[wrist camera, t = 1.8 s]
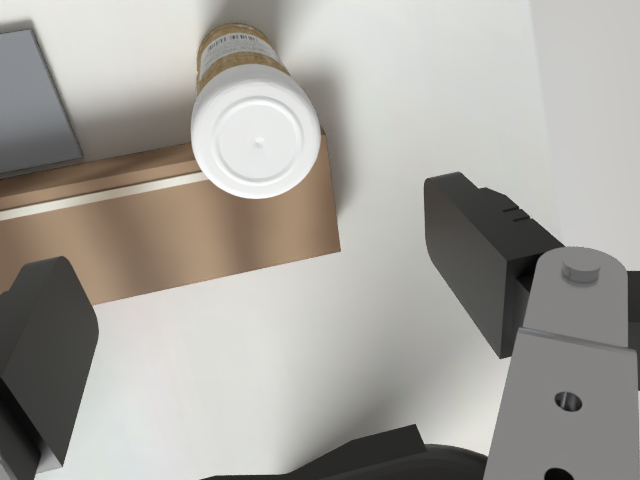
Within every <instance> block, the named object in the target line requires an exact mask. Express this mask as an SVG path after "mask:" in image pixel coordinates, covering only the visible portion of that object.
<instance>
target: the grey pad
mask: <svg viewBox="0 0 640 480" xmlns="http://www.w3.org/2000/svg"><path fill="white" fill-rule="evenodd" d="M81 157H82V152H81V150H80V147H79V145H78V142H77V140H76V138H75V135H74V133H73V130H72V128H71V125H70V123H69V120H68V118H67V115H66V113H65V110H64V108H63V105H62V103H61V101H60V98H59V96H58V93H57V91H56V88H55V86H54V83H53V81H52V78H51V76H50V73H49V71H48V68H47V66H46V63H45V61H44V59H43V56H42V54H41V51H40V49H39V46H38V44H37V41H36V39H35V36H34V34H33V31H32V29H26V30H20V31H14V32H8V33H2V34H0V173H3V172H8V171H13V170H19V169H24V168H29V167H35V166H40V165H45V164H50V163H56V162H61V161H66V160H72V159H77V158H81Z"/></svg>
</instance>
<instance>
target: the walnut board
mask: <svg viewBox="0 0 640 480" xmlns="http://www.w3.org/2000/svg"><path fill="white" fill-rule="evenodd" d="M320 131H321V142H320V149H319V152H318V156H317V159H316V161H315V163H314V165H313V167H312V168H311V170H310V171H309V173H308V174H307V175H306V177H305V178H304V179H303V180H302V181H301V182H299V183H298V184H297V185H296V186H294V187H293V188H291V189H290V190H288V191H286V192H284V193H282V194H279V195H277V196H273V197H269V198H261V199H251V198H243V197H239V196H235V195H233V194H230V193H228V192H226V191H224V190H222V189H221V188H219V187H217V186H216V185H215V184H214V183H213V182H212V181H211V180H209V179H208V177H207V176H206V175H205V174H204V173H203V171H202V170H201V168H200V167H199V165H198V163H197V161H196V159H195V156H194V153H193V149H192V143H188V144H182V145H177V146H172V147H167V148H161V149H156V150H151V151H146V152H140V153H135V154H130V155H125V156H119V157H114V158H109V159H104V160H98V161H93V162H88V163H83V164H77V165H72V166H67V167H62V168H56V169H51V170H46V171H41V172H35V173H30V174H25V175H20V176H15V177H9V178H4V179H0V295H1V294H2V293H3V292H5V291H9V289H10V287H11V286H12V284H13V282H14V280H15V279H16V277H17V275H18V273H19V272H20V270H21V268H22V267H23V265H25V264H27V263H31V262H36V261H40V260H45V259H50V258H54V257H59V256H64V257H66V258H67V259H68V260H69V262H70V263H71V265H72V267H73V269H74V271H75V273H76V275H77V277H78V279H79V281H80V283H81V285H82V287H83V289H84V291H85V293H86V295H87V297H88V299H89V301H90V303H91V305H96V304H101V303H105V302H110V301H115V300H119V299H124V298H128V297H133V296H138V295H142V294H147V293H151V292H156V291H161V290H165V289H170V288H175V287H179V286H184V285H188V284H193V283H198V282H202V281H207V280H211V279H216V278H221V277H225V276H230V275H234V274H239V273H244V272H248V271H253V270H257V269H262V268H267V267H271V266H276V265H280V264H285V263H290V262H294V261H299V260H303V259H308V258H313V257H317V256H322V255H327V254H331V253H336V252H340V251H341V248H340V240H339V233H338V225H337V217H336V210H335V202H334V194H333V187H332V179H331V171H330V163H329V156H328V148H327V140H326V134H325V133H324V131H323V129H322V128H321V126H320Z"/></svg>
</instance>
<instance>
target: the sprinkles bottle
mask: <svg viewBox="0 0 640 480" xmlns="http://www.w3.org/2000/svg"><path fill="white" fill-rule="evenodd" d="M197 71H198V74H197V79H196V95H197V99H196V102H195V104H194V107H193V111H192V117H191V142H192V149H193V153H194V156H195V159H196V161H197V163H198V165H199V167H200V168H201V170H202V171H203V173H204V174H205V175H206V176H207V177H208V179H209V180H211V181H212V182H213V183H214V184H215V185H216V186H217V187H219V188H221V189H222V190H224V191H226V192H228V193H230V194H233V195H235V196H239V197H243V198H251V199H261V198H269V197H273V196H277V195H279V194H282V193H284V192H286V191H288V190H290V189H291V188H293V187H294V186H296V185H297V184H298V183H299V182H301V181H302V180H303V179H304V178H305V177H306V175H307V174H308V173H309V171H310V170H311V168H312V167H313V165H314V163H315V161H316V159H317V156H318V152H319V149H320V142H321V131H320V124H319V120H318V116H317V114H316V111H315V109H314V107H313V105H312V103H311V102H310V100H309V98H308V96H307V95H306V93H305V92H304V91H303V89H302V88H301V87H300V86H299V84H298V83H297V82H296V81H295V80H294V79H292V78H291V76H290V74H289V73H288V71H287V69H286V68H285V66H284V65H283V63H282V62H281V60H280V59H279V57H278V56H277V54H276V52H275V51H274V48H273V46H272V44H271V43H270V42H269V41H268V39H267V38H266V37H265V36H264V35H263V34H262V33H261V32H260V31H258V30H257V29H255V28H253V27H251V26H248V25H245V24H238V23H235V24H226V25H222V26H220V27H218V28H216V29H215V30H213V31H212V32H210V34H209V35H208V36H207V37H206V38H205V39H204V40H203V42H202V44H201V46H200V48H199V51H198V55H197Z"/></svg>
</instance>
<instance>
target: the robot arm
mask: <svg viewBox="0 0 640 480" xmlns="http://www.w3.org/2000/svg"><path fill="white" fill-rule="evenodd" d="M424 211H425V239H426V245H427V250H428V253H429V256H430V258H431V260H432V262H433V264H434V265H435V267H436V268H437V270H438V271H439V273H440V274H441V275H442V277H443V278H444V280H445V281H446V283H447V284H448V285H449V287H450V288H451V290H452V291H453V293H454V294H455V296H456V297H457V298H458V300H459V301H460V303H461V304H462V306H463V307H464V308H465V310H466V311H467V313H468V314H469V316H470V317H471V318H472V320H473V321H474V323H475V324H476V326H477V327H478V329H479V330H480V331H481V333H482V334H483V336H484V337H485V339H486V340H487V341H488V343H489V344H490V346H491V347H492V349H493V350H494V352H495V353H496V354H497V356H498V357H499V359H503V358H507V357H511V356H512V358H511V362H510V366H509V370H508V375H507V379H506V383H505V388H504V392H503V396H502V400H501V405H500V409H499V413H498V417H497V422H496V426H495V430H494V435H493V439H492V443H491V447H490V452H489V456H485V455H483V454H480V453H477V452H474V451H471V450H468V449H463V448H459V447H454V446H448V445H438V444H424V443H423V440H422V438H421V436H420V433H419V431H418V429H417V426H416V424H413V425H409V426H406V427H402V428H398V429H394V430H390V431H386V432H382V433H379V434H375V435H371V436H367V437H363V438H359V439H355V440H352V441H350V442H348V443H346V444H344V445H342V446H340V447H338V448H337V449H335V450H333V451H331V452H329V453H327V454H325V455H323V456H321V457H319V458H318V459H316V460H314V461H312V462H310V463H308V464H306V465H304V466H302V467H300V468H299V469H297V470H295V471H293V472H290V473H287V474H281V475H224V476H212V477H209V478H205V479H201V480H640V454H639V453H640V450H639V414H638V413H639V412H638V391H640V271H626V269H625V267H624V266H623V265H622V264H621V263H620V262H619V261H618V260H617V259H615V258H614V257H612V256H610V255H608V254H606V253H603V252H601V251H598V250H594V249H590V248H584V247H565V246H564V245H563V244H562V243H561V242H559V241H558V240H557V239H556V238H555V237H554V236H552V235H551V234H550V233H549V232H548V231H547V230H545V229H544V228H543V227H542V226H541V225H540V224H538V223H537V222H536V221H535V220H534V219H533V218H532V219H530V216H529V215H528V214H527V213H526V212H524V211H523V210H522V209H519V206H517V205H516V204H515V203H514V202H513V201H512V200H510V199H509V198H508V197H507V196H506V195H503V194H501V193H498V192H496V191H493V190H491V189H488V188H486V187H485V188H481V189H478V188H477V187H476V186H475V185H474V184H473V183H472V182H470V181H469V180H468V179H467V178H466V177H465V176H464V175H463V174H462V173H460V172H454V173H450V174H445V175H440V176H436V177H431V178H427V179H426V180H425V183H424ZM98 335H99V329H98V321H97V317H96V314H95V312H94V309H93V307H92V305H91V303H90V301H89V299H88V297H87V295H86V293H85V291H84V289H83V287H82V285H81V283H80V281H79V279H78V277H77V275H76V273H75V271H74V269H73V267H72V265H71V263H70V262H69V260H68V259H67V258H66V257H64V256H59V257H54V258H50V259H45V260H40V261H36V262H31V263H27V264H25V265H23V267H22V268H21V270H20V272H19V273H18V275H17V277H16V279H15V280H14V282H13V284H12V286H11V287H10V289H9V291H5V292H3V293H2V294H1V295H0V480H34V477H35V474H37V473H41V472H45V471H49V470H53V469H57V468H61V467H63V464H64V460H65V457H66V453H67V450H68V446H69V442H70V439H71V435H72V431H73V428H74V424H75V421H76V417H77V413H78V410H79V406H80V403H81V399H82V395H83V392H84V388H85V384H86V381H87V377H88V374H89V370H90V366H91V363H92V359H93V356H94V352H95V348H96V345H97V341H98Z"/></svg>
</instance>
